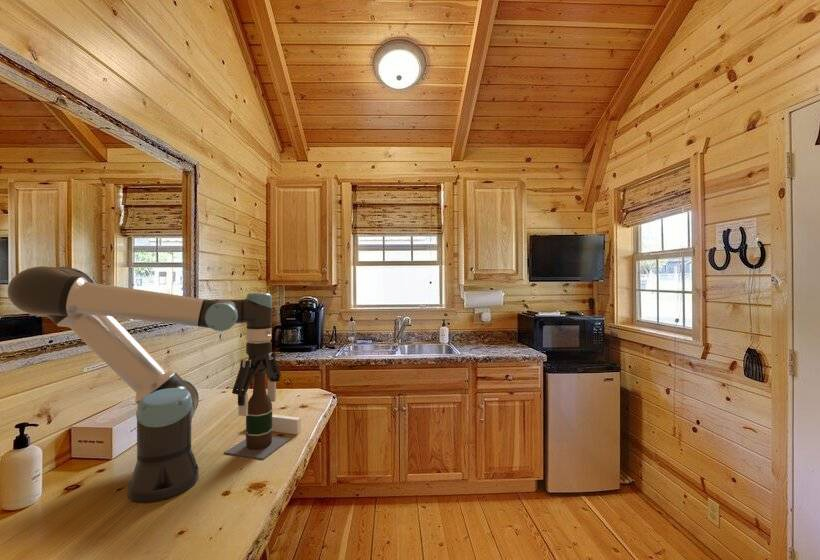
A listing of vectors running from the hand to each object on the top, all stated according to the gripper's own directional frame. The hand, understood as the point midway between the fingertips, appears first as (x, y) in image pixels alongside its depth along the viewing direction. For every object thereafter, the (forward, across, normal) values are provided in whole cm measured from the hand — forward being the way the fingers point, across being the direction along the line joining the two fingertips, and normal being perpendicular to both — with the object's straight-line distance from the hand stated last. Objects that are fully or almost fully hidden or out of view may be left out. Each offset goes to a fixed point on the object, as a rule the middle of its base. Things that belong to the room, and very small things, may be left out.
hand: (258, 407), depth 115 cm
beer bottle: (+12, 0, 0) cm, 12 cm away
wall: (+12, +12, +3) cm, 17 cm away
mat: (+12, 0, 0) cm, 12 cm away
